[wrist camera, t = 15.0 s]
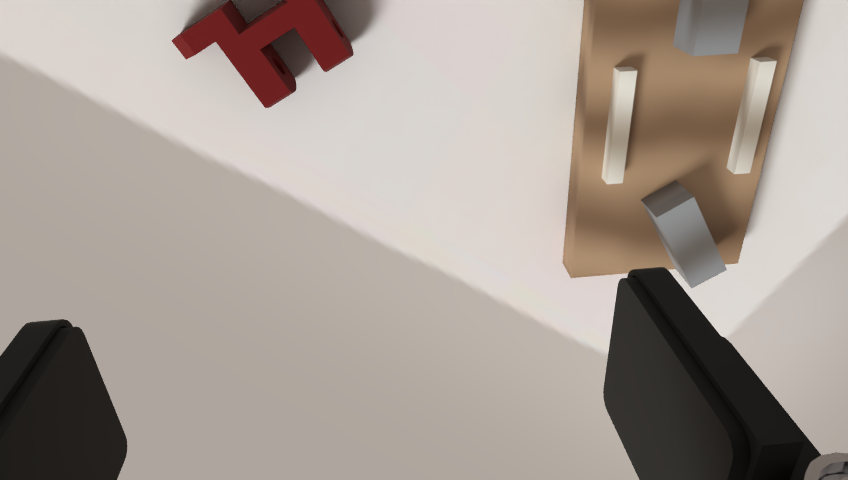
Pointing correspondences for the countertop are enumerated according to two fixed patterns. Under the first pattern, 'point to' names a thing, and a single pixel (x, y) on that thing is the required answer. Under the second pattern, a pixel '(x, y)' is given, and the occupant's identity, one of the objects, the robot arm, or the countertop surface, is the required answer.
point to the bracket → (268, 42)
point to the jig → (672, 131)
